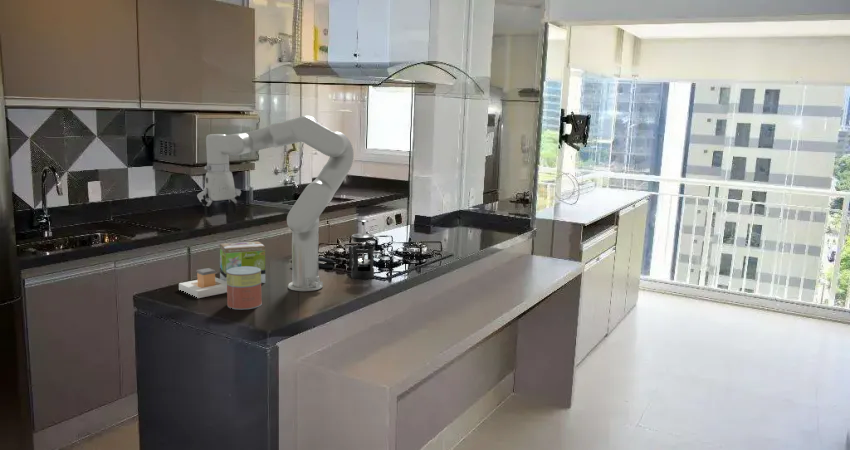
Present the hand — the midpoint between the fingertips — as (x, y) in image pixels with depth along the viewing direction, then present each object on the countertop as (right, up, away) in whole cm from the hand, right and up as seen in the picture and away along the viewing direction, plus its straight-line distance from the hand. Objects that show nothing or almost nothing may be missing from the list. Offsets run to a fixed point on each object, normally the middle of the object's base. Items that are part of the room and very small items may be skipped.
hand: (220, 215), depth 237 cm
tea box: (+5, -26, +10) cm, 28 cm away
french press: (+50, -24, +22) cm, 59 cm away
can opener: (+28, -22, +36) cm, 50 cm away
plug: (-4, -27, -3) cm, 27 cm away
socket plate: (-4, -27, -3) cm, 28 cm away
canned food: (+14, -31, -18) cm, 38 cm away
